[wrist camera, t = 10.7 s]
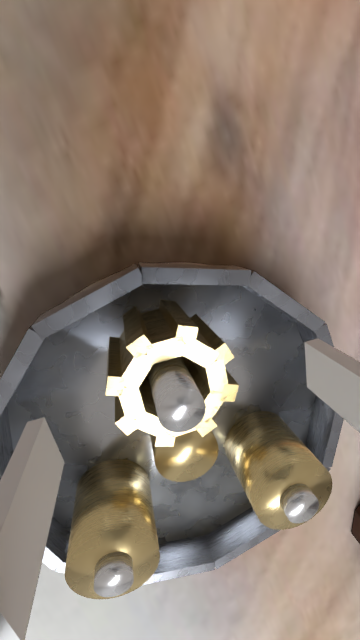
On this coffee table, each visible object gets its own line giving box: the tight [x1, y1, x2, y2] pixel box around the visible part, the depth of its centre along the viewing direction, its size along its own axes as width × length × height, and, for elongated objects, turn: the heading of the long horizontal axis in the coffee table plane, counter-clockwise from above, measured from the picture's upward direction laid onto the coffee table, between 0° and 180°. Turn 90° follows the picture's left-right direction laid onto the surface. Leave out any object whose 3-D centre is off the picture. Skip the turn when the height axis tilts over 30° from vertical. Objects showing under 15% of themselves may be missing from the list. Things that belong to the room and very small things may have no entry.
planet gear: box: [106, 299, 239, 447], centre depth 19 cm, size 7×7×6 cm
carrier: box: [0, 262, 343, 599], centre depth 21 cm, size 27×27×10 cm
